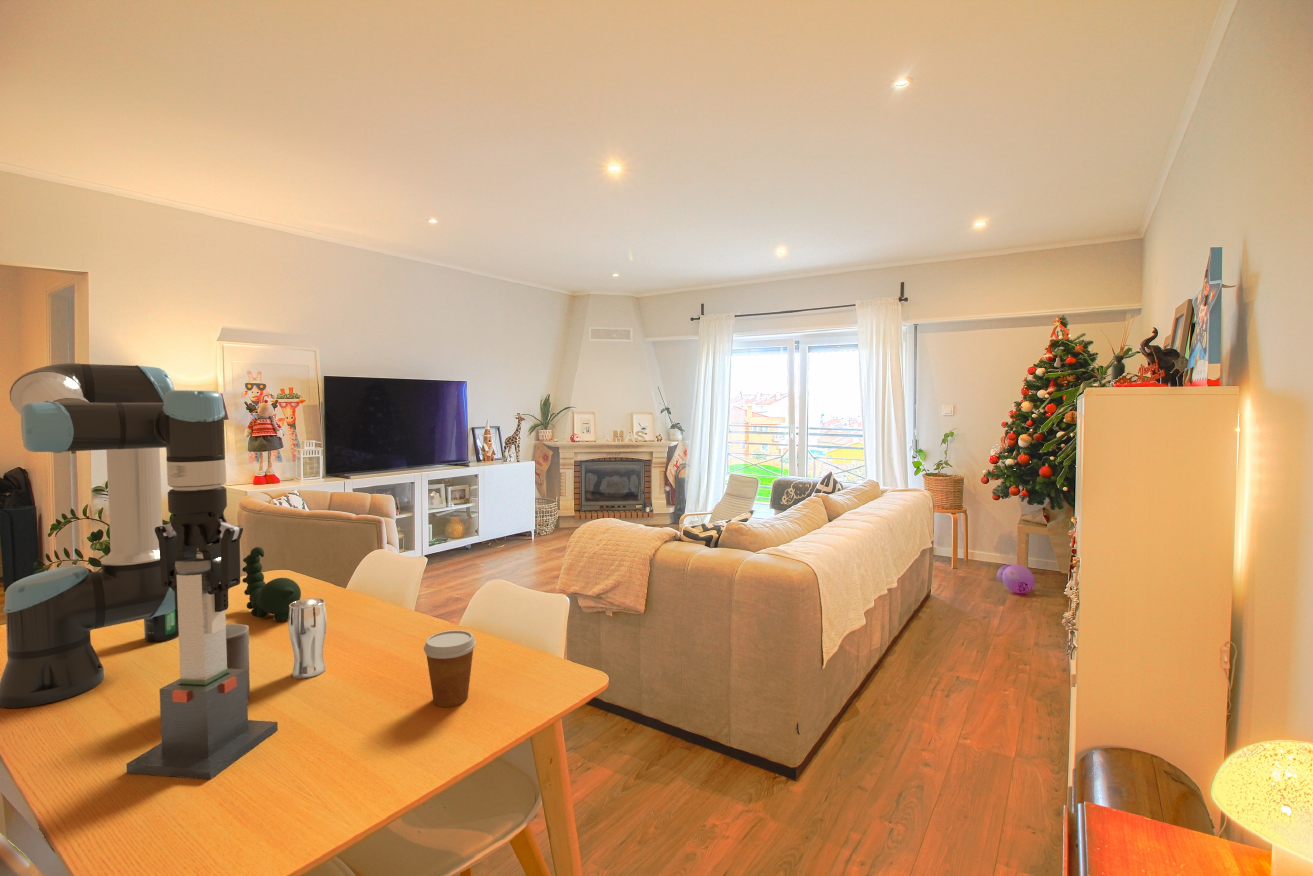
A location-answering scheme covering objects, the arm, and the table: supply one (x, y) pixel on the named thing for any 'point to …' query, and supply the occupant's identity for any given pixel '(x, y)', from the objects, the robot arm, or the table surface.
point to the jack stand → (203, 729)
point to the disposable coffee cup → (450, 666)
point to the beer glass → (307, 636)
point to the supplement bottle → (162, 627)
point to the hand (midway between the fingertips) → (202, 629)
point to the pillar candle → (238, 649)
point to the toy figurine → (268, 590)
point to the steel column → (197, 625)
